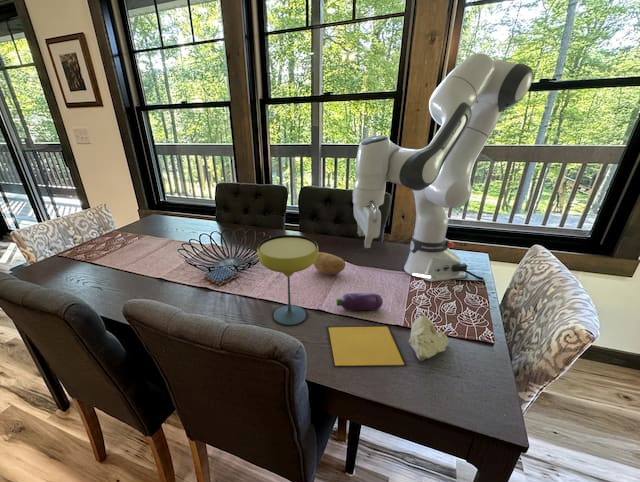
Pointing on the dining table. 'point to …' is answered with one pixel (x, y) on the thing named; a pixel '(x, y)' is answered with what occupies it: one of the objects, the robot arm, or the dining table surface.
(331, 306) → the dining table surface
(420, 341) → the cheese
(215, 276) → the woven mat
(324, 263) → the potato
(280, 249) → the cocktail glass
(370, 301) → the eggplant
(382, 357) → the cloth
